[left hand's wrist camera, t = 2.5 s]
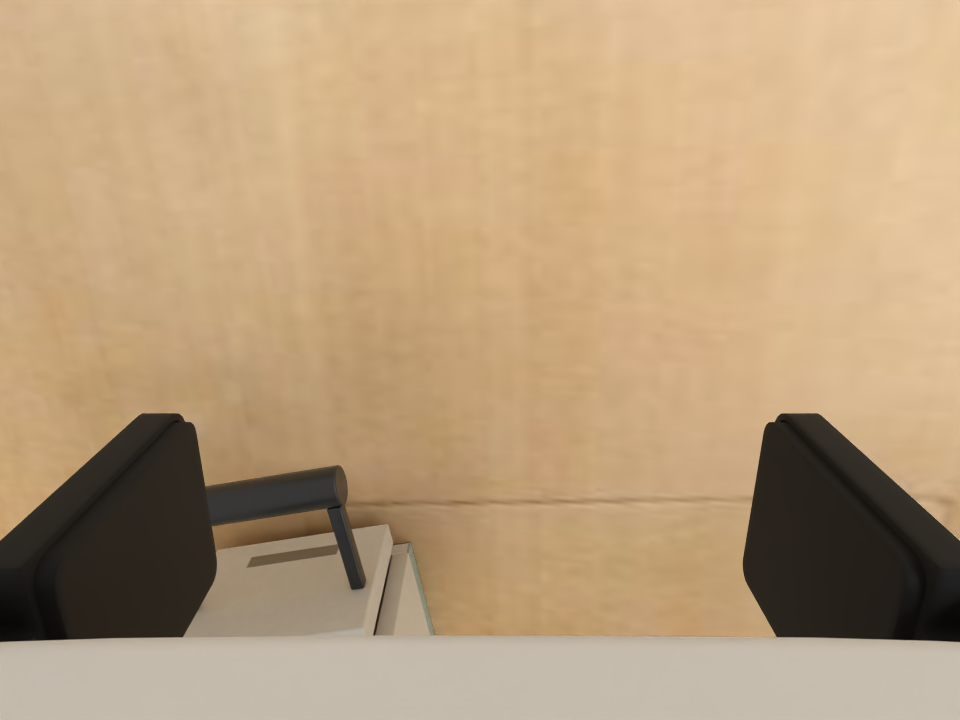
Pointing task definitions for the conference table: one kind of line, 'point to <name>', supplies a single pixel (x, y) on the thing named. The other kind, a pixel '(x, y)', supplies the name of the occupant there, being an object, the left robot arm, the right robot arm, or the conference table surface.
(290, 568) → the drawer
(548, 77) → the conference table surface
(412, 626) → the cabinet
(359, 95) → the conference table surface
